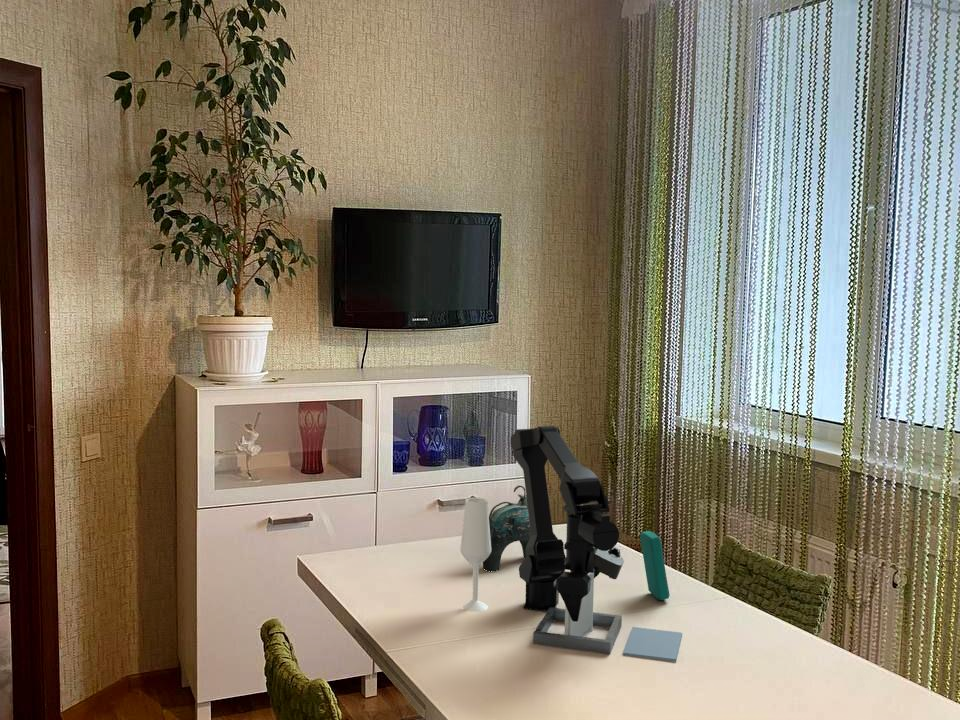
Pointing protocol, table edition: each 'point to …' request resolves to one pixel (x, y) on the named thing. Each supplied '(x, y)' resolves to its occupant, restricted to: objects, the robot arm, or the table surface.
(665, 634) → the mat
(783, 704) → the table surface
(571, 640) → the gray square frame
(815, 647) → the table surface
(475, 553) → the champagne flute
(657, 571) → the digital multimeter
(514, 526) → the green bronze animal figure
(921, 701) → the table surface
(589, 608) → the hard drive
